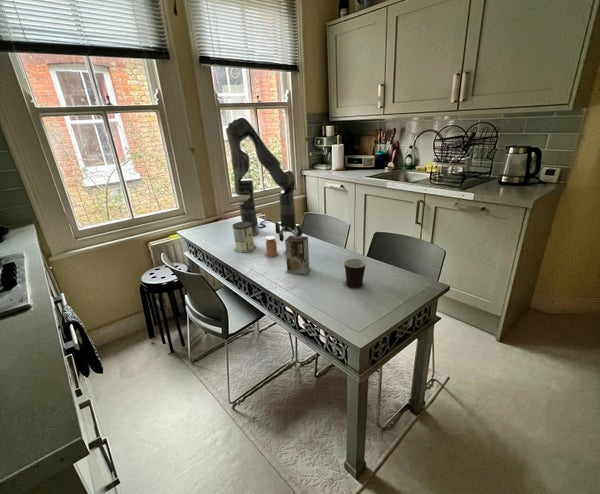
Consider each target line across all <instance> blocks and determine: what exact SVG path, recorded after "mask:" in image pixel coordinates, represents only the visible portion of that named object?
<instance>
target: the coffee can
mask: <svg viewBox="0 0 600 494" xmlns="http://www.w3.org/2000/svg"><path fill="white" fill-rule="evenodd" d="M232 231H233V239H234V244H235V245H234V246H235V251H236V252H238V253H247V252H251V251H253V250H254V249H255V241H254V235H253V232H252V223H251V222H241V221H238V222H234V223H233V224H232Z"/></svg>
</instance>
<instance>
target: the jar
mask: <svg viewBox="0 0 600 494" xmlns="http://www.w3.org/2000/svg"><path fill="white" fill-rule="evenodd" d="M265 249H266V256H267V257H270V258H273V257H276V256H278V247H277V238H276V237H275V236H274V235H269V236H266V238H265Z"/></svg>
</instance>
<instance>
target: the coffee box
mask: <svg viewBox="0 0 600 494" xmlns="http://www.w3.org/2000/svg"><path fill="white" fill-rule="evenodd" d="M284 245H285V250H286V253H285V258H286V270H287V274H298V275H307V273H308V272H309V270H310V254H309V252H310V251H309V236H304V235H301V236H294V235H289V236H288V237H287V238H285V240H284Z"/></svg>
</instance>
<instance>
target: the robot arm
mask: <svg viewBox="0 0 600 494" xmlns="http://www.w3.org/2000/svg"><path fill="white" fill-rule="evenodd" d="M225 134H226V139H227V142H228V146H229V151H230V157H231V167H232V172H233V185H234V193H235V194H236V195H237V196H239V197H243V196H247V197H246V198H244V199H242V200H240V201H239V204H238V205H239V214H240V220H241V221H240V222H251V223H252V232H253V236H255V235H257V234H258V233H259V229H263V228H265V227H266V224H265V223H264V222H268V221H269V222H272V219H264V220H261V221H260V223H258V216H257V212H256V204H255V202H256V201H255V194H254V193H255V192H254V190H255V189H254V182H253V179H251V178H246V179H245V178H244V177H245V176H246V175H247V174H248V172H249V170H250V166H251V165H250V164H251V163H250V156H249V154H248V152H246V151H245V150H244V149H243V148H241V142H242V141H244V140H245V139H247V138H248V139H250V140H251V142H252V143H253V146H254V149H255V154H256V158H257V160H258V162H259V163H260V164H261V165H262V166H263V168H265V170H266V171H267V172H268V173H269V175H270V177H271V179H272V180H273V182H274V183H275V185H277V186H278V187H280V188H281V191H280V192H279V195H278V196H279V197H278V198H279V219H280V220H279V221H276V222H275V234H277V235H279V241H280V242H281V243H283V242H285V240H284V238H285V237H284V232H286V233H291V234H292V235H293V236H303V228H302V227H303V225H302V224H301V223H299V224H297V223H296V206H295V198H294V193H295V186H296V178H295V174H294V173H293V172H292V171H291V170H288V169H287V170H283V169H282V168H281V162H280V160H279V159H278V158H277V157H276V156H275V155H274V154H273V153H272V152H271V150H269V148H268V147H267V146H266V144H265V142H264V141H263V140H262V138H261V137H260V135H259V134H258V132H257V131H256V129H255V128H254V126H252V124H251V122H250V121H249V120H248V119H247V118H245V116H239V117H237V118H235V119H234V120H233V121H231V122H229V123H228V124H226V127H225ZM243 178H244V179H243ZM259 225H261V226H259Z"/></svg>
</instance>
